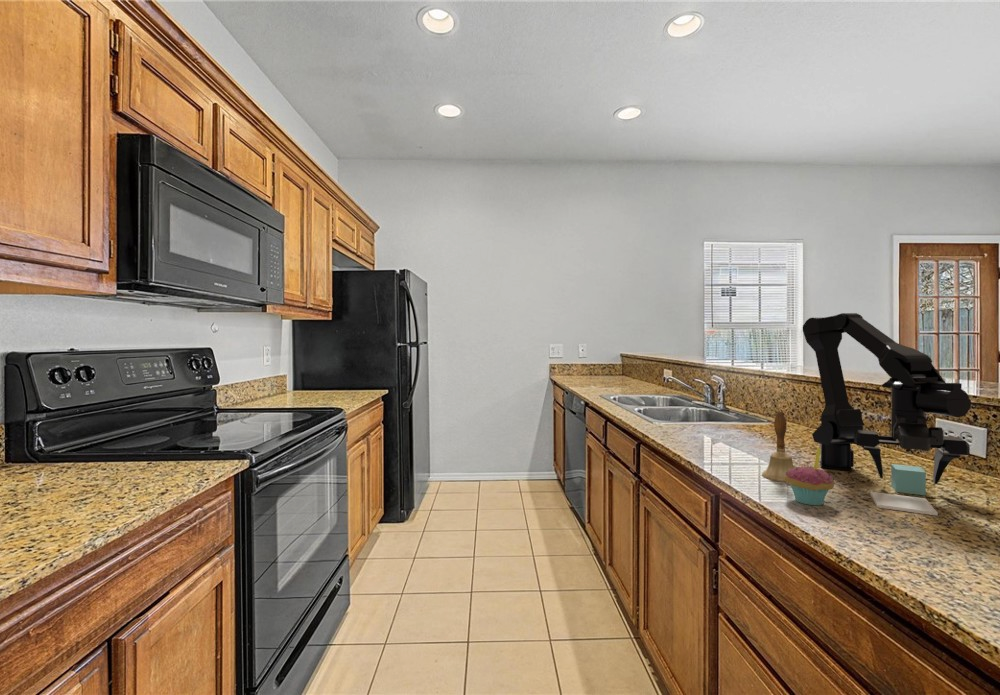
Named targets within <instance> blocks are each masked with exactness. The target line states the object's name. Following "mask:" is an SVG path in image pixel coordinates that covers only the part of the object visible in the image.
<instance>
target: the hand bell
mask: <svg viewBox="0 0 1000 695" xmlns="http://www.w3.org/2000/svg"><path fill="white" fill-rule="evenodd" d="M773 426H774V432H775V435H776V452H773V453H771V454H770V455H769V456H770V458H769V463H768V466H767V467H766V469H765V470H764V471H763V472H762V473H761V476H762V477H763V478H765V479H768V480H770V481H775V482H776V481H777V482H783V483H786V482H785V480H784V478H785V475H786V472H787V471H789V470H790V469H793V468H795V466H794V463H793V457H792V455H790V453H789V454H788V453H787V452H786V447H785V445H786V444H785V437H786V436H785V435H786V432H787V419H786V416H785V414H784V411H781V410H780V411H778V410H777V412H776V414H775V418H774V421H773Z"/></svg>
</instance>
